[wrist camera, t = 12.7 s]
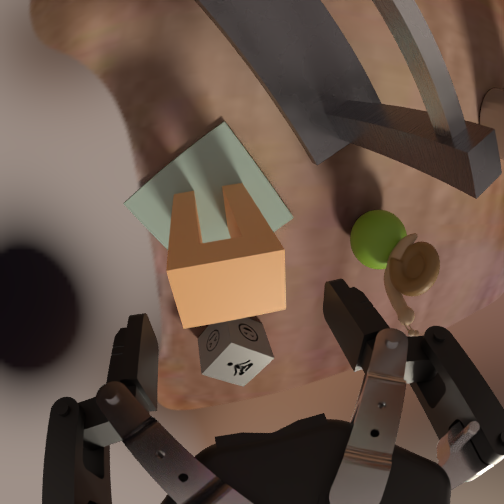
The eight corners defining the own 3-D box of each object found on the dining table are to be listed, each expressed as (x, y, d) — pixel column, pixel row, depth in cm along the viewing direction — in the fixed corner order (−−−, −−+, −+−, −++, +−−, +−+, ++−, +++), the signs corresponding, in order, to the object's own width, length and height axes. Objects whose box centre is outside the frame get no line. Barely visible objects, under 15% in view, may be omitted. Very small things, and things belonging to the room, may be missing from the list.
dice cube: (235, 352, 33) (243, 386, 29) (197, 337, 31) (201, 374, 26) (262, 323, 31) (274, 357, 27) (223, 306, 29) (231, 342, 25)
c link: (242, 183, 23) (284, 249, 14) (246, 224, 25) (286, 309, 15) (173, 194, 22) (166, 270, 13) (182, 235, 24) (183, 328, 15)
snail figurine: (325, 250, 28) (392, 335, 18) (358, 192, 26) (446, 257, 16) (364, 264, 30) (430, 340, 20) (394, 213, 28) (476, 275, 18)
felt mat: (223, 121, 21) (224, 121, 20) (292, 216, 26) (293, 217, 25) (124, 202, 22) (123, 204, 22) (201, 281, 27) (202, 283, 27)
